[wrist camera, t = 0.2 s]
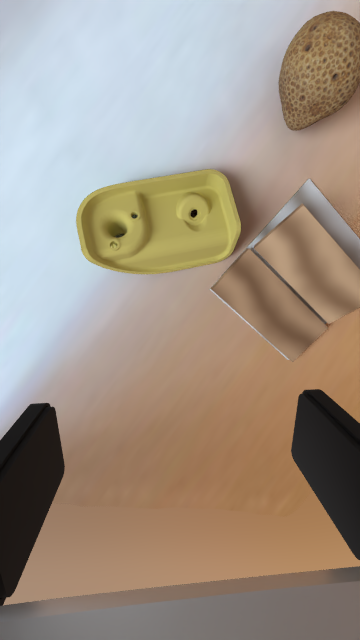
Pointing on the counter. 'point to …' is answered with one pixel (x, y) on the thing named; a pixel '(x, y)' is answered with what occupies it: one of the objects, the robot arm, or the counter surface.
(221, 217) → the plastic component
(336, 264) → the plank
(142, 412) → the counter surface
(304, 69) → the natural sponge
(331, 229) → the laid floor
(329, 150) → the counter surface
